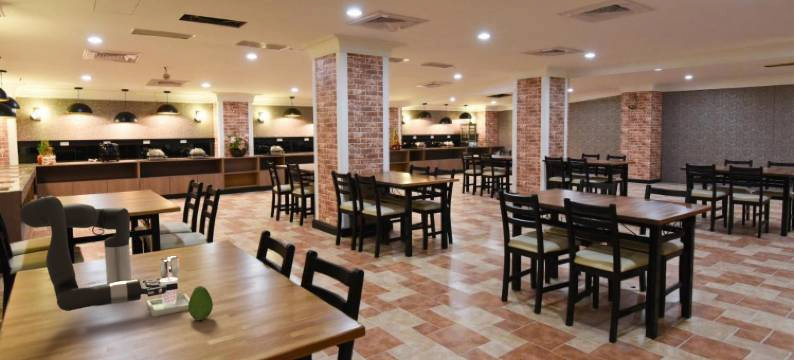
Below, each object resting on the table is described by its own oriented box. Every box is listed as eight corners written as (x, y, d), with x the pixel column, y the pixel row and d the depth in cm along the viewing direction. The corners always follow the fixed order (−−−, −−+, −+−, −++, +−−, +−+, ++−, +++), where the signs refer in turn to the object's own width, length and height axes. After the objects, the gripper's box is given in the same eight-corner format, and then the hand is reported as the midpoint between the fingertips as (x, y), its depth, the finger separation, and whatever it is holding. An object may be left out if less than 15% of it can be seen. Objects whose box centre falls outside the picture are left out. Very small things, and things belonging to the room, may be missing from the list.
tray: (146, 305, 186) (146, 300, 186) (186, 298, 194) (185, 293, 194) (152, 317, 175) (151, 311, 175) (193, 309, 183) (193, 303, 182)
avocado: (198, 325, 167) (197, 290, 166) (184, 320, 171) (182, 287, 170) (218, 317, 174) (216, 284, 173) (204, 313, 178) (202, 281, 177)
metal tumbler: (173, 298, 194) (171, 261, 193) (158, 297, 196) (155, 260, 194) (184, 292, 201) (182, 256, 200) (169, 291, 203) (167, 255, 201)
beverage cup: (160, 306, 180) (159, 269, 179) (160, 301, 186) (158, 265, 184) (179, 304, 183) (177, 267, 182) (177, 299, 188) (176, 263, 187)
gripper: (126, 286, 169) (179, 278, 179) (122, 276, 181) (172, 269, 191) (127, 307, 170) (180, 298, 179) (123, 296, 182) (172, 288, 191)
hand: (175, 283), depth 185 cm, fingers closed on beverage cup, 6 cm apart
